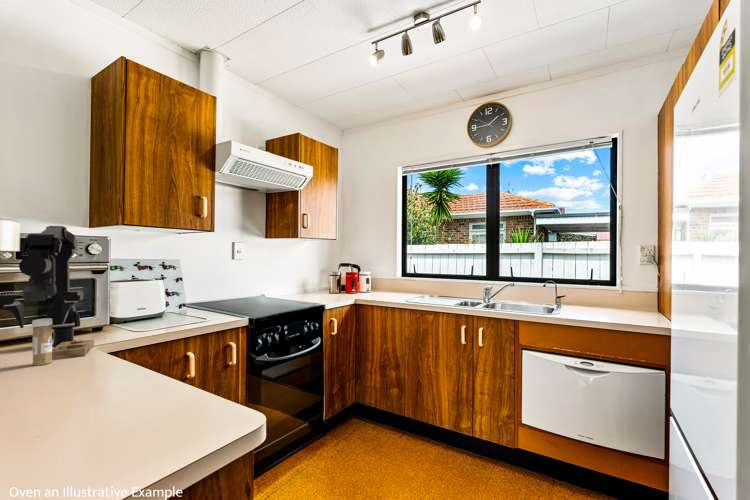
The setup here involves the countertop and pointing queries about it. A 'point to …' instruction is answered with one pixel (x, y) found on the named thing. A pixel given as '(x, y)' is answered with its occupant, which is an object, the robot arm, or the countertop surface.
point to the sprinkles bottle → (42, 341)
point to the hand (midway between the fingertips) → (42, 326)
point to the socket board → (72, 349)
